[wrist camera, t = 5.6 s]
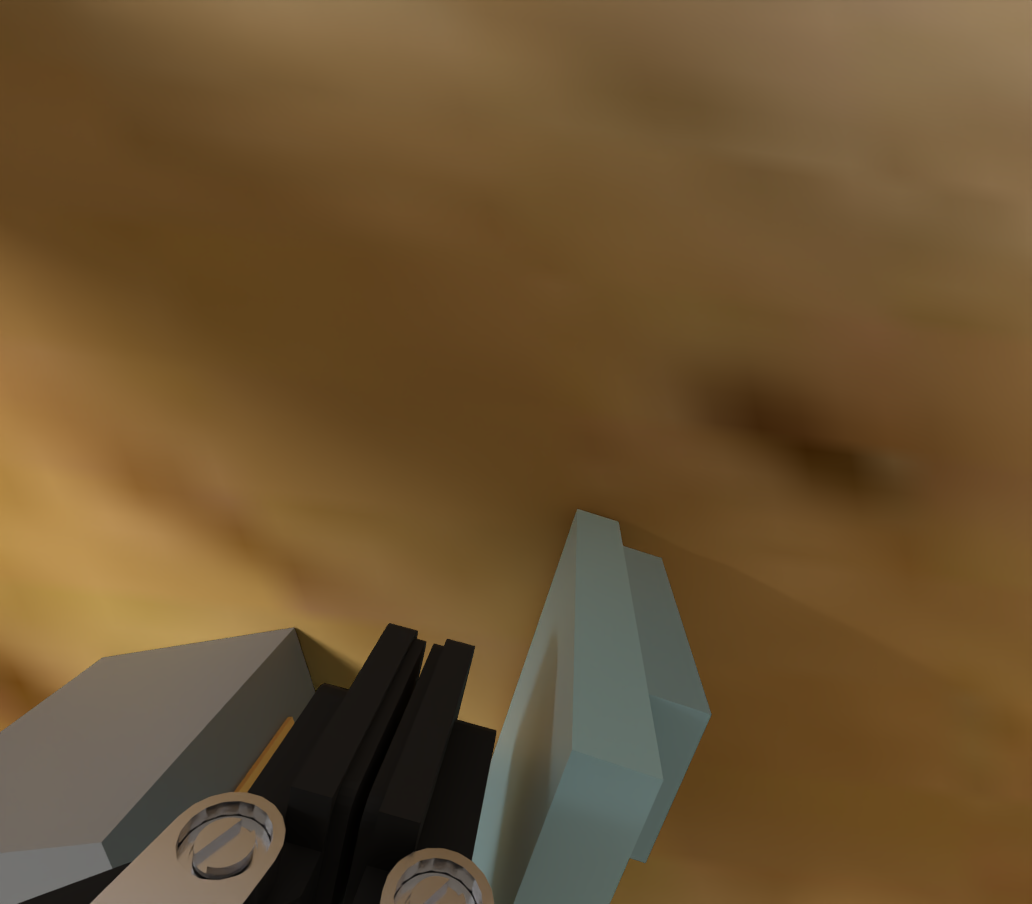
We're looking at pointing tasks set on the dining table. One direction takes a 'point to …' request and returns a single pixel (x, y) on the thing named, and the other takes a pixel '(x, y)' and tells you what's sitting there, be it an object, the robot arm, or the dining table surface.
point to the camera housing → (139, 752)
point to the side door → (591, 728)
